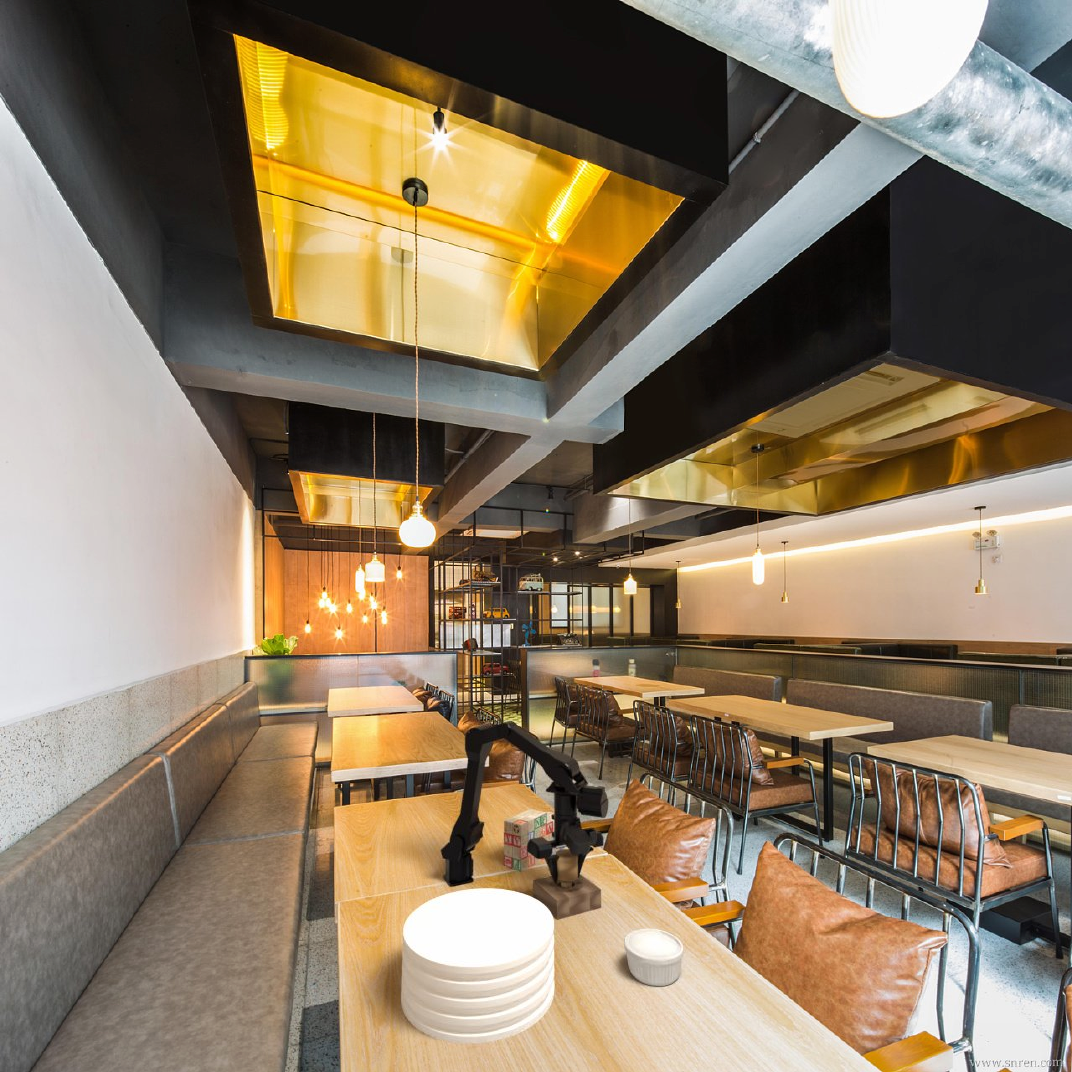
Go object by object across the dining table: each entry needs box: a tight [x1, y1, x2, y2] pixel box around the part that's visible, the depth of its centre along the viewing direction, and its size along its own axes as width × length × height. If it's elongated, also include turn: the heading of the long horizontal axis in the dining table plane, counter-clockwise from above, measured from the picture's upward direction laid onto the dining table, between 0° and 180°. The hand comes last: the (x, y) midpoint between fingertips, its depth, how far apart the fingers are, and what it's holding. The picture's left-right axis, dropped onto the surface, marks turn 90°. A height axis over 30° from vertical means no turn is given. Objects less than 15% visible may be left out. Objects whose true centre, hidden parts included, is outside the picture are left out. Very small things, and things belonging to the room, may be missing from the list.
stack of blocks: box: [503, 808, 565, 872], centre depth 167 cm, size 21×6×12 cm, turn 143°
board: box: [532, 873, 602, 920], centre depth 139 cm, size 12×12×4 cm
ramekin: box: [623, 928, 685, 987], centre depth 111 cm, size 11×11×5 cm
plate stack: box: [400, 887, 555, 1045], centre depth 107 cm, size 28×28×12 cm
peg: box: [556, 848, 578, 888], centre depth 140 cm, size 6×6×9 cm
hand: (566, 880), depth 140 cm, fingers closed on peg, 6 cm apart
